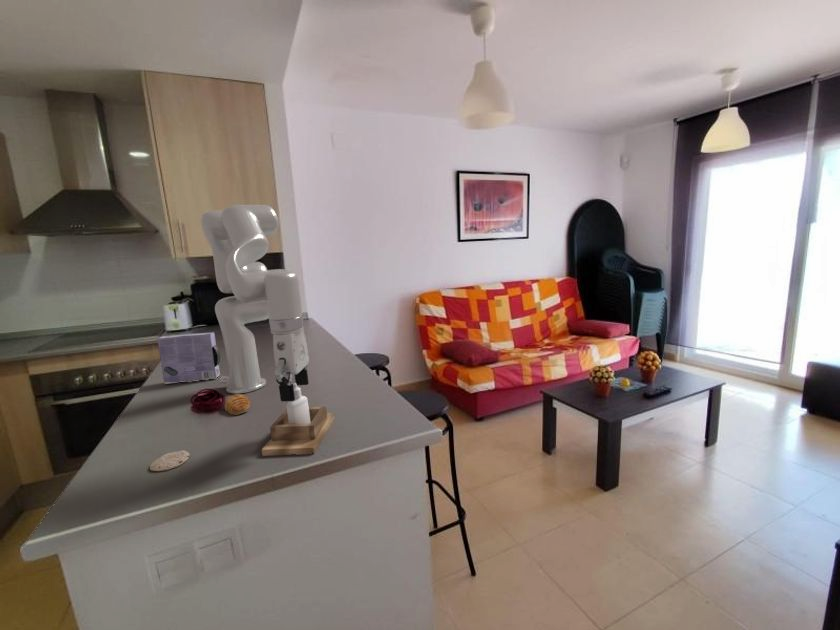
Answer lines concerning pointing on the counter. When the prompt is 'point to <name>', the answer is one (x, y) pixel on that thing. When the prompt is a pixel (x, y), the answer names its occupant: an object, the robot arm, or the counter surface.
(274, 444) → the holder stand
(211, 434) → the counter surface
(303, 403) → the eye dropper bottle
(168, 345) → the cake pan box
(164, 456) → the flatbread
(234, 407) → the pastry
